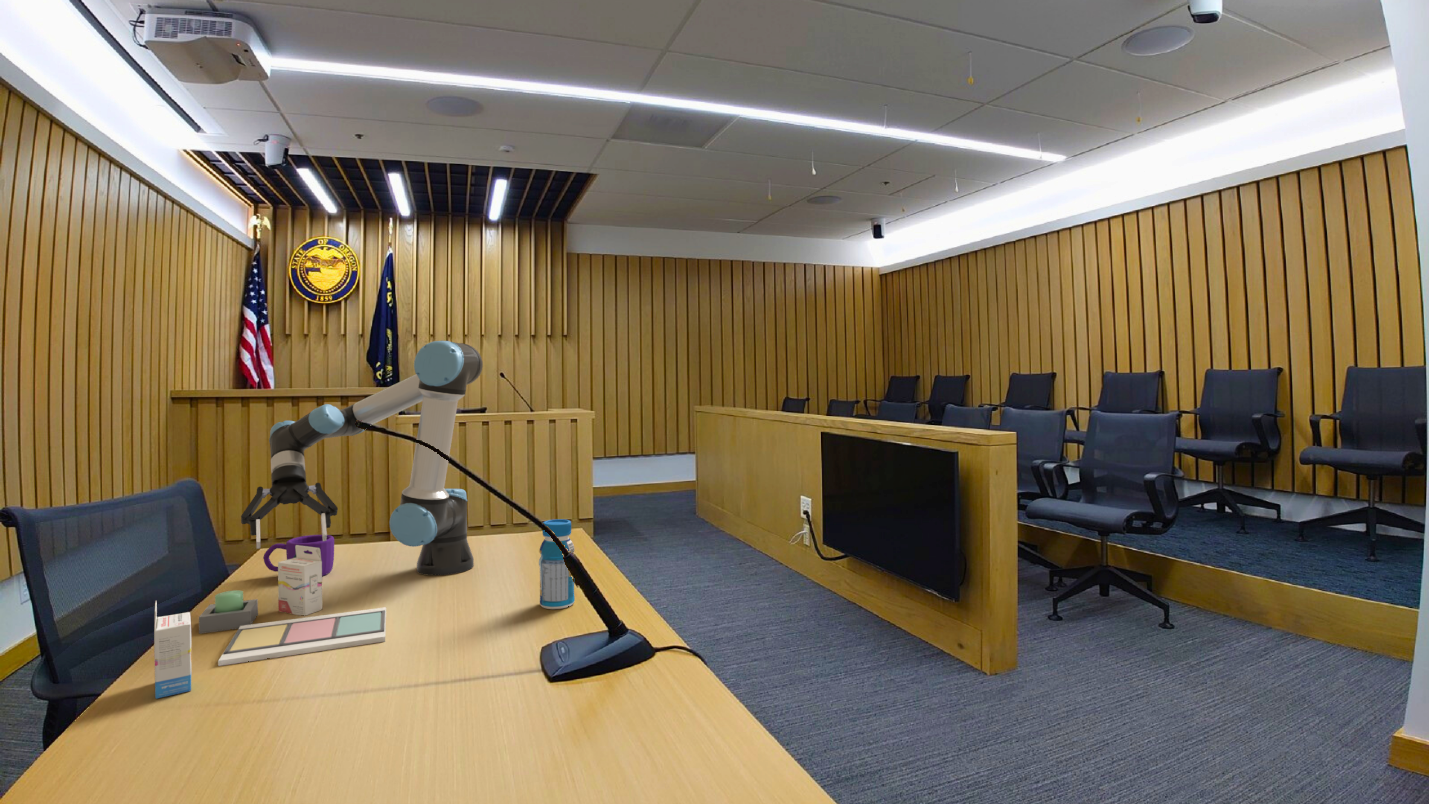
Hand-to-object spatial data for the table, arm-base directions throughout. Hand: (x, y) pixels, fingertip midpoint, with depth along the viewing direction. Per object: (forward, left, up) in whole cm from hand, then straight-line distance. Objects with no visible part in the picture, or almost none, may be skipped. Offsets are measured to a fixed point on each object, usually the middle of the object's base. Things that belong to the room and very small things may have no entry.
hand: (292, 541), depth 161 cm
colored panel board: (-6, +28, -15) cm, 32 cm away
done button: (+11, +12, -13) cm, 20 cm away
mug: (+2, -25, -15) cm, 29 cm away
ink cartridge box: (-2, +9, -15) cm, 17 cm away
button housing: (+11, +12, -15) cm, 21 cm away
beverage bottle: (-57, +30, -15) cm, 66 cm away
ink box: (+13, +45, -15) cm, 49 cm away
